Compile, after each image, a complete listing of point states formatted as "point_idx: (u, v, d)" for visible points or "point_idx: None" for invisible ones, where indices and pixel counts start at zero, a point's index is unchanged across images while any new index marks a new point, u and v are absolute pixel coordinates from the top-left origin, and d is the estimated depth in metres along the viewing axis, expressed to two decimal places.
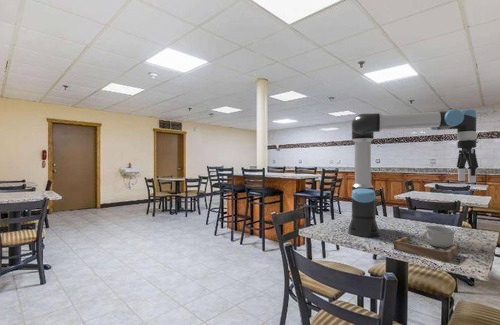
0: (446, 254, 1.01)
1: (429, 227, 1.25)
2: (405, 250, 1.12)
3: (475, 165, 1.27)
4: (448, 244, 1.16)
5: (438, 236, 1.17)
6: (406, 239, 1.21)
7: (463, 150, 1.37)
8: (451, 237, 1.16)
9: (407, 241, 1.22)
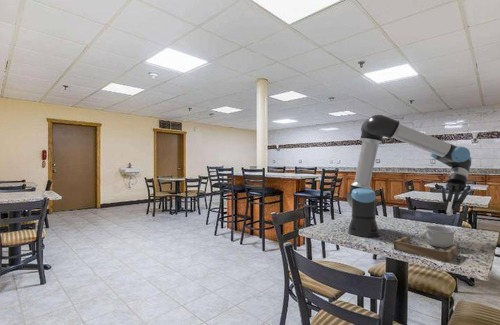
0: (446, 254, 1.01)
1: (429, 227, 1.25)
2: (405, 250, 1.12)
3: (461, 202, 1.30)
4: (448, 244, 1.16)
5: (438, 236, 1.17)
6: (406, 239, 1.21)
7: (452, 182, 1.39)
8: (451, 237, 1.16)
9: (407, 241, 1.22)
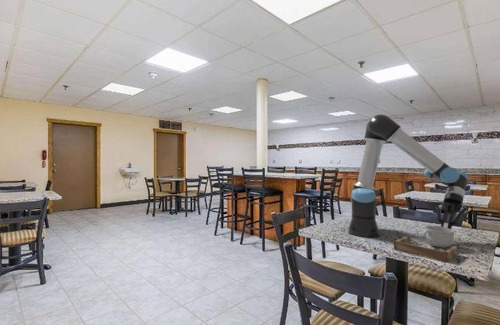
0: (446, 254, 1.01)
1: (429, 227, 1.25)
2: (405, 250, 1.12)
3: (457, 223, 1.25)
4: (448, 244, 1.16)
5: (438, 236, 1.17)
6: (406, 239, 1.21)
7: (448, 201, 1.34)
8: (451, 237, 1.16)
9: (407, 241, 1.22)
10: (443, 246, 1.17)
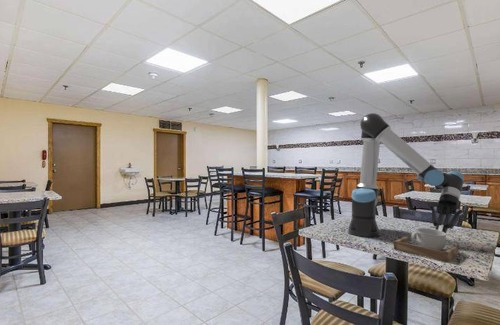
0: (446, 254, 1.01)
1: (422, 230, 1.21)
2: (405, 250, 1.12)
3: (452, 226, 1.20)
4: (438, 248, 1.11)
5: (427, 239, 1.12)
6: (406, 239, 1.21)
7: (443, 202, 1.29)
8: (441, 240, 1.11)
9: (407, 241, 1.22)
10: None
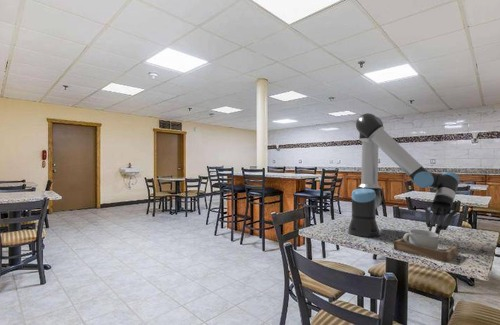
0: (446, 254, 1.01)
1: (415, 231, 1.19)
2: (405, 250, 1.12)
3: (445, 227, 1.18)
4: None
5: (419, 240, 1.10)
6: None
7: (437, 203, 1.26)
8: (434, 242, 1.09)
9: None
10: None
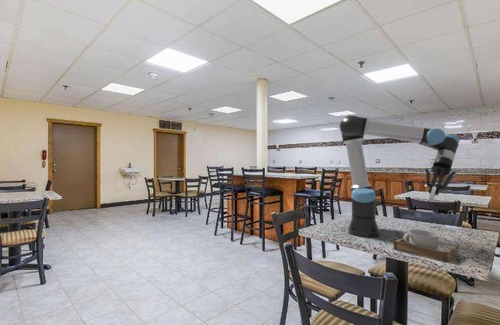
0: (446, 254, 1.01)
1: (415, 231, 1.19)
2: (405, 250, 1.12)
3: (444, 187, 1.27)
4: None
5: (419, 240, 1.10)
6: None
7: (437, 165, 1.35)
8: (434, 242, 1.09)
9: None
10: None
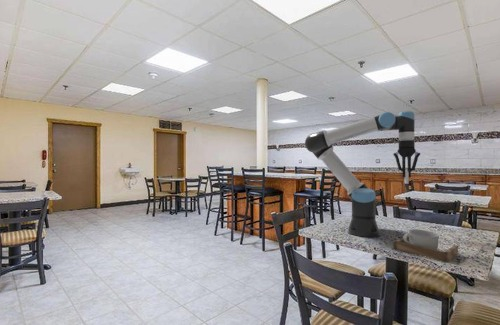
0: (446, 254, 1.01)
1: (415, 231, 1.19)
2: (405, 250, 1.12)
3: None
4: None
5: (419, 240, 1.10)
6: None
7: (403, 147, 1.45)
8: (434, 242, 1.09)
9: None
10: None
